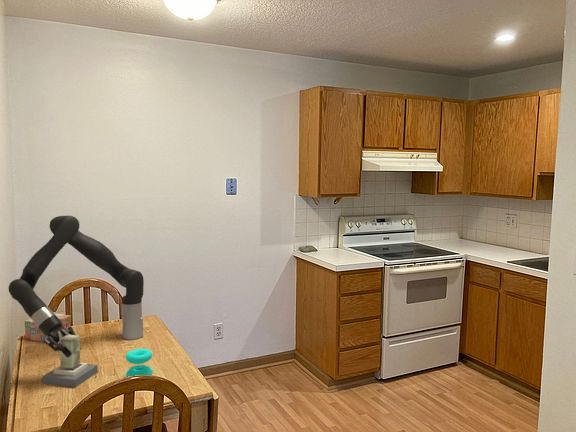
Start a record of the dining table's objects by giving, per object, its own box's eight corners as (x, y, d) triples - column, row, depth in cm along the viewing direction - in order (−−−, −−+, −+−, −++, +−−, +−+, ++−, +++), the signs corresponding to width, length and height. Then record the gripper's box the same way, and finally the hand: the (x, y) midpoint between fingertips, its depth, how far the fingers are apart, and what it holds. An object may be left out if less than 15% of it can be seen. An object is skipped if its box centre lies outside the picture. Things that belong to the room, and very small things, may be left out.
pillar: (69, 361, 190) (68, 334, 189) (80, 362, 189) (79, 335, 188) (60, 366, 185) (59, 338, 184) (72, 367, 184) (71, 339, 183)
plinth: (67, 368, 195) (66, 358, 195) (97, 372, 193) (97, 361, 192) (43, 383, 182) (42, 372, 181) (75, 387, 179) (75, 375, 178)
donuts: (141, 358, 182) (120, 355, 185) (142, 383, 183) (120, 379, 186) (157, 349, 191) (136, 346, 194) (157, 373, 192) (137, 369, 195)
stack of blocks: (25, 339, 228) (24, 314, 227) (35, 335, 234) (34, 310, 233) (62, 344, 223) (61, 318, 222) (71, 340, 229) (71, 315, 228)
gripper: (39, 320, 179) (68, 354, 178) (64, 309, 193) (91, 340, 192) (27, 332, 181) (56, 366, 180) (53, 321, 195) (80, 352, 194)
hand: (74, 353), depth 186 cm, fingers closed on pillar, 5 cm apart
